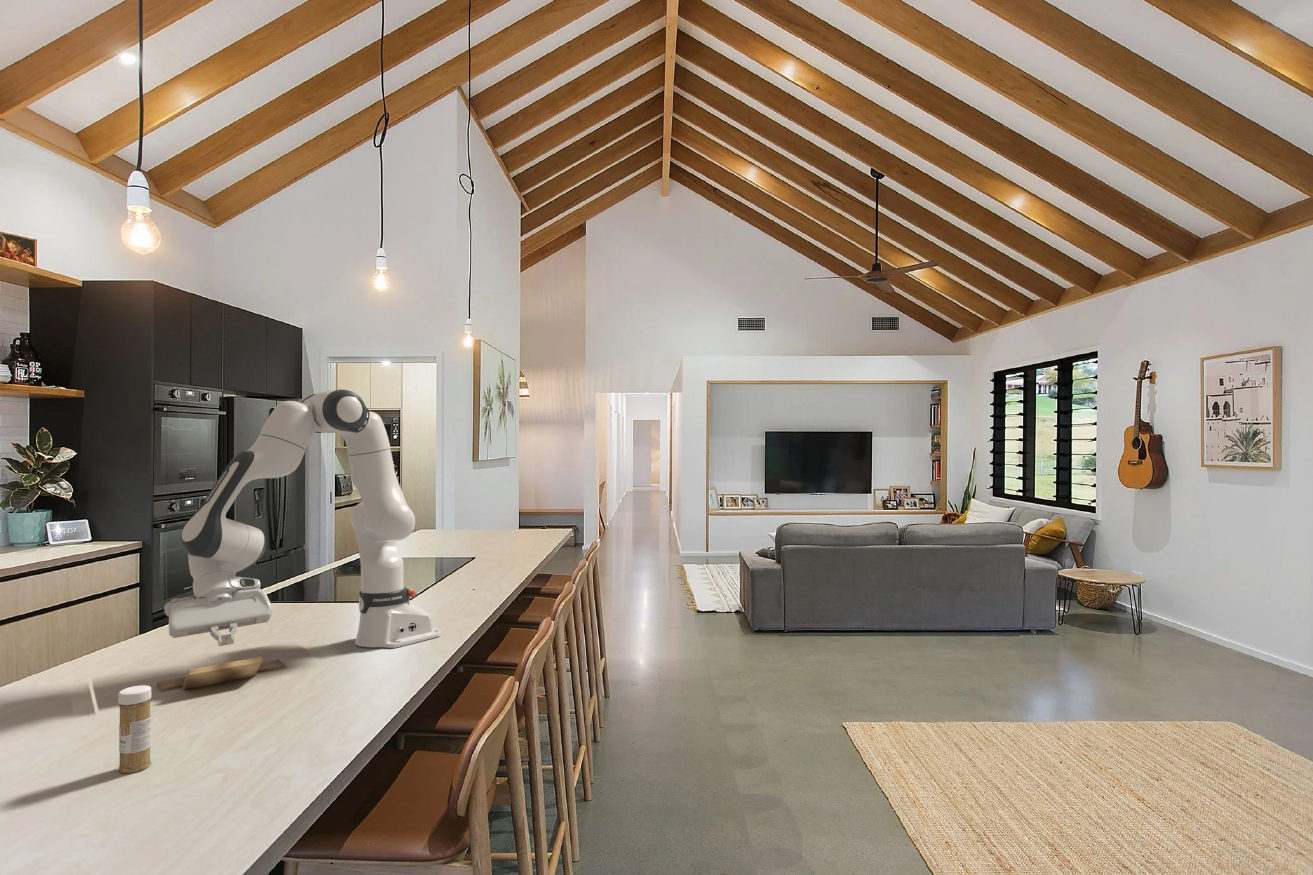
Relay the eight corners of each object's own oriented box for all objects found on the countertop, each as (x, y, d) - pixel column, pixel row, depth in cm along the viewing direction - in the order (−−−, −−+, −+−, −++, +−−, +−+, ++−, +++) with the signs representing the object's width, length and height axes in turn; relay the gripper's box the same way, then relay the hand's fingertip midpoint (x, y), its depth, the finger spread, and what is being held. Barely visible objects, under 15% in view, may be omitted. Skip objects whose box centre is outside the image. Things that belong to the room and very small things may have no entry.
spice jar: (115, 768, 122) (114, 689, 122) (147, 759, 125) (146, 682, 125) (122, 776, 119) (122, 695, 119) (155, 767, 122) (155, 688, 123)
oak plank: (254, 677, 169) (253, 672, 169) (262, 661, 163) (261, 656, 163) (183, 690, 160) (182, 685, 160) (189, 674, 153) (188, 669, 154)
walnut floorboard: (278, 664, 179) (278, 659, 179) (285, 669, 174) (285, 664, 174) (157, 687, 163) (157, 681, 163) (160, 694, 158) (160, 688, 158)
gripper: (164, 592, 160) (172, 645, 152) (266, 578, 173) (278, 626, 166) (162, 608, 163) (169, 661, 156) (262, 594, 176) (273, 642, 169)
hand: (226, 643), depth 161 cm, fingers closed
